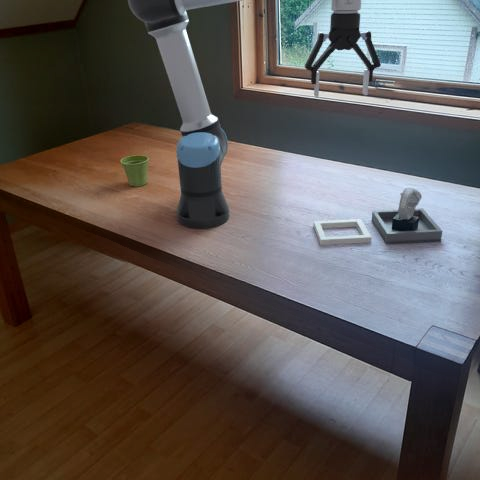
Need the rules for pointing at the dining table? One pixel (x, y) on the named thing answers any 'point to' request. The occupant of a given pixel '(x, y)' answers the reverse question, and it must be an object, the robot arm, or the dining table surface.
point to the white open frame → (324, 240)
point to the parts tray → (423, 233)
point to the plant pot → (136, 169)
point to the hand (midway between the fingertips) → (340, 95)
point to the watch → (407, 211)
